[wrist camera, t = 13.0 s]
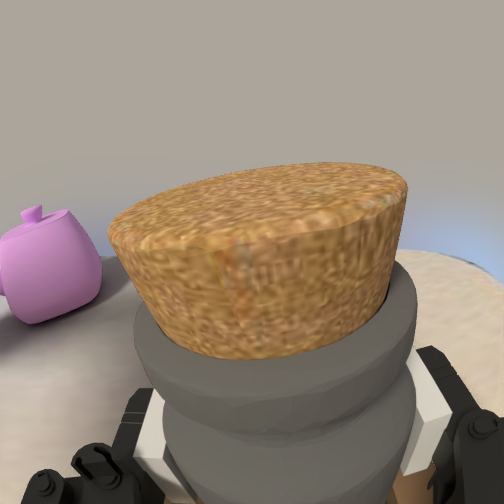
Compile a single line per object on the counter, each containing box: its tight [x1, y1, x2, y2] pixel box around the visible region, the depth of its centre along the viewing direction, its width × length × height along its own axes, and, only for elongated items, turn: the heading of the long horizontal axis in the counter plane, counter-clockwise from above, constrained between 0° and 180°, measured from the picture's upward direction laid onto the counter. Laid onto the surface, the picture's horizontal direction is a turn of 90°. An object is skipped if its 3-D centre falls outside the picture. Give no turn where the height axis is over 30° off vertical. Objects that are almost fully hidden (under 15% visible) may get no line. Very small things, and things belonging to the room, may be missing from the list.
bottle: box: [107, 162, 418, 504], centre depth 8 cm, size 6×6×15 cm
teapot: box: [0, 205, 103, 324], centre depth 41 cm, size 23×21×15 cm
